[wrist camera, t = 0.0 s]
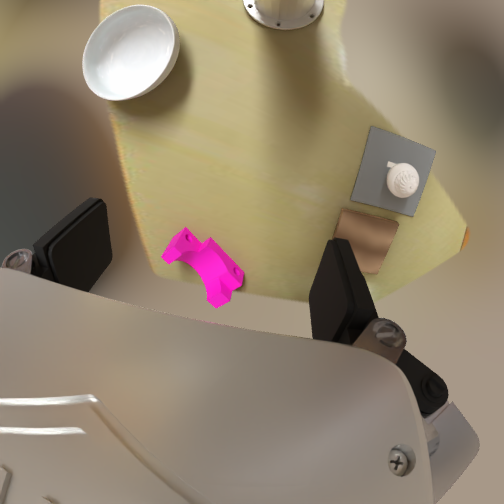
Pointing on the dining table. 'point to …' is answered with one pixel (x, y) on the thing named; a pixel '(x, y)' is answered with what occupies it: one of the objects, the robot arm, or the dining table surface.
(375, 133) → the tile
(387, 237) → the walnut pad
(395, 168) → the muffin
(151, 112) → the dining table surface
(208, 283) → the magenta cradle bracket
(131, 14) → the cereal bowl
